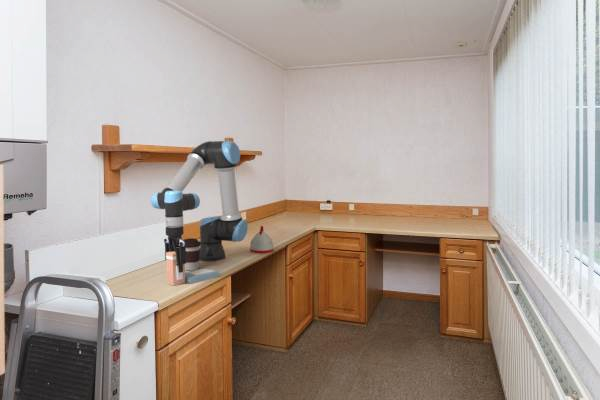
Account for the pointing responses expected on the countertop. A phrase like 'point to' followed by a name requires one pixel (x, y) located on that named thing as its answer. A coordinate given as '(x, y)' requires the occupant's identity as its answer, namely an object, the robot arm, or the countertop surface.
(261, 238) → the grey dome
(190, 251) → the coffee cup
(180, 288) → the countertop surface
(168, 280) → the pink rectangular box
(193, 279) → the board
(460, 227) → the countertop surface
